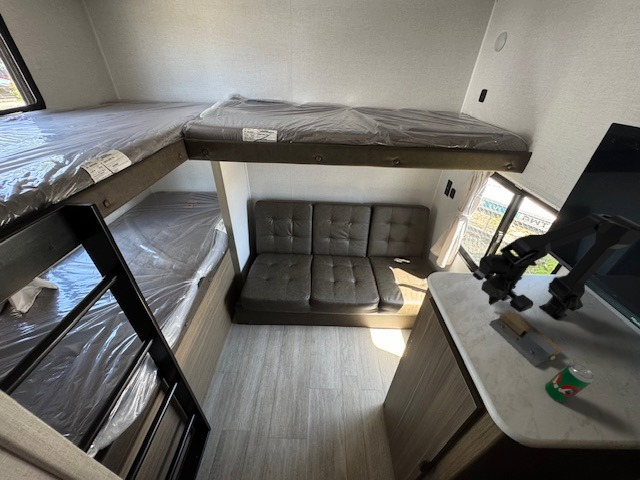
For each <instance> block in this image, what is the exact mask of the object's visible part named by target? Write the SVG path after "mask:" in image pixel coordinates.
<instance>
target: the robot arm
mask: <svg viewBox="0 0 640 480" xmlns="http://www.w3.org/2000/svg"><path fill="white" fill-rule="evenodd" d="M594 234H595V240H594V242H593V244H591V246H590V247H589V248H588V249H587V251H586V252H585V253H584V254H583V255H582V256H581V258H579V260H578V261H577V262H576V264H575V265H574V266H573V267H572V268H571V269H570V271H568V273H567V274H566V275H563V276H559V277H558V276H555V277H553V279H552V280H551V282H549V283H548V290H547V292H548V293H549V294H550V295H551V297H550V298H549V300H547V302H546V303H544V304H542V305H539V307H538V308H539V309H540V310H542V311H543V312H544V313H546V314H547V315H549V316H550V317H551V318H552V319H554V320H556V321H558V320H561V319H563V318H566V317H567V316H568V314H567V312H568V311H572V312H575V311H576V310H580V309H581V308H583V307H584V304H583V302H582V300H581V299H582V297H583V295H584V294H585V293H586V289H585V288H586V283H587V282H588V281H589V280H591V277H592V276H593V275H595V274H596V273H597V272H598V270H599V269H600V268H601V267H602V266H603V265H604V264H606V261H608V260H609V259H610V257H612V255H614V253H615V252H616V251H617V250H619V249H622V248H623V249H624V248H626V247H630V246H632V244H634V243H635V242H636V241H638V240H640V224H637V223H635V222H633V221H632V220H630V219H628V218H626V217H624V216H621V215H620V214H619V215H607V214H603V213H600V214H598V213H590V214H587V215H586V216H584V217H583V218H581V219H578V220H576V221H573V222H572V223H569V224H566V225H563V226H561V227H558V228H556V229H552V230H550V231H547V232H546V233H545V232H544V233H542V234H527V235H524V236H520V237H518V238H515V240H513V241H512V242H510V243H509V244H507V245H506V246H504V247H502V248H500V249H499V252H500V253H501V254H497V253H488V255H484V256H482V257H481V258H480V260H479V265H478V266H479V268H478V269H475V270H474V271H473V273H472V276H473V277H474V278H475V279H476V280H478V281H483V279H485V281H483V282H482V285H481V289H480V290H481V291H482V292H484V293H486V294H487V296H488V305H490V306H492V305H494V304H496V303H497V302H499V301H504V302H505V301H507V300H510V301H509V305H510V307H512V308H513V309H514V310H516V311H517V312H519V313H522V312H525V311H528V310H530V309H531V308H532V307H533V306H534V301H533V300H532V299H531V298H529V297H527V295H525V294H524V293H522V294H520V295H517V294H516V291H515V289H516V287H517V284H518V282H519V281H521V280H522V279H523V276H524V273H525V272H526V271H527V269H528V268H529V267H530V266H531V267H535V266H537V265H538V264H537V263H536V262H537V261H539V260H541V259H543V258H545V257H547V256H548V255H549V253H550V252H551V251H553V250H554V249H556V248H559V247H562V246H565V245H566V244H569V243H573V242H575V241H578V240H580V239H583V238H586V237H588V236H592V235H594ZM515 254H516V255H515Z"/></svg>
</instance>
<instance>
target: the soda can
mask: <svg viewBox="0 0 640 480" xmlns="http://www.w3.org/2000/svg"><path fill="white" fill-rule="evenodd" d="M594 378H595V376H594V374H593V372H592V371H591V370H590V369H589V368H588V367H586V366H585V365H584V364H582V363H579V362H573V363H569V364H567V365H566V366H565V367H563V368H562V369H561V370H559V372H558V373H557V374H556V375H554V376H553V377H552V378H551V379H550V380H548V381H547V382H546V383H545V385H544V389H545V391H546V393H547V395H549V397H551V398H552V399H553V400H555V401H557V402H560V403H566V402H567V401H569V400H570V399H572V398H573V397H575V396H576V395H577V394H579V393H580V392H581V391H582V390H584V389H586V387H589V386H590V384H592V383H593V381H594Z"/></svg>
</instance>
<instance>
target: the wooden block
mask: <svg viewBox="0 0 640 480" xmlns="http://www.w3.org/2000/svg"><path fill="white" fill-rule="evenodd" d="M499 319H500V320H501V321H502V322H503V323H504V324H506V325H507V326H508V327H509V328H510V329H511V330H512V331H514V332H515V333H516V334H517V335H518V336H519V337H521V338H523V337H524V335H525V334H527V333H529V332H531V331H534V332H536V333H537V334H538V335H539V336H540V337H542V338H543V339H544V340H545V341H547V342H548V343H549V344H550V345H552V346H553V347H554V348H555V349H556V350H558V352H557V353H556V354H555V355H553V356H555V357H556V356H559V355H560V354H561V353H562V352H563V350H564V349H562V348H560V347H559V346H558V345H557V344H556V343H554V342H553V341H552V340H551V339H549V338H548V337H547V336H546V335H545V334H543V333H542V332H541V331H539V330H538V328H536V327H535V326H534V325H532V324H531V323H530V322H528V321H527V320H526V319H525V318H523V316H521V315H520V314H518V313H517V312H516V311H513V312H512V311H511V310H508V311H505V312H502V313H501V314H500V316H499Z"/></svg>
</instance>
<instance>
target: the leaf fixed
mask: <svg viewBox="0 0 640 480" xmlns="http://www.w3.org/2000/svg"><path fill="white" fill-rule="evenodd" d="M488 325H489V326H490V327H491V328H492V329H493V330H494V331H495V332H497V334H498V335H499V336H501V337H502V338H503V339H504V340H505V341H506V342H507V343H508V344H509V345H510V346H511V347H512V348H513V349H515V350H516V351H517V352H518V353H519V354H521V356H522V357H524V359H525V360H527V362H529V363H530V364H531V365H532V366H533V367H537V366H539V365H541V364H543V363H546V362H547V361H549V360H551V361H553V360H554V359H556V356H553V355H555V354H556V353H557V352H558V350H556V349H555V348H554V347H553V346H552V345H550V344H549V343H548V342H547V341H545V340H544V339H543V338H542V337H540V336H539V335H538V334H537V333H536V332H534V331H531V332H529V333H527V334H525V335H524V336H523V337H519V336H518V335H517V334H516V333H515V332H514V331H512V330H511V329H510V328H509V327H508V326H507V325H506V324H504V323H503V322H502V321H501V320H500V319H499V318H496V319H493V320H491V321H490V322H489V324H488Z"/></svg>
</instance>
